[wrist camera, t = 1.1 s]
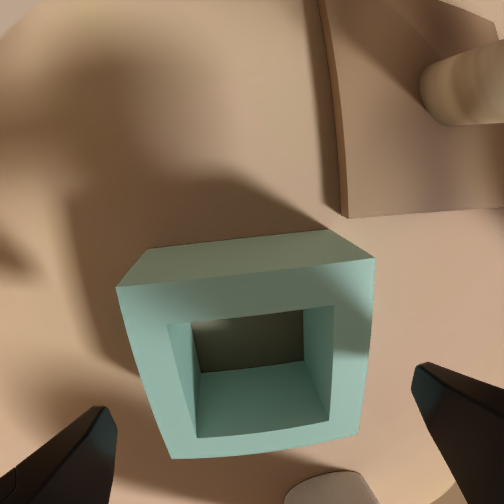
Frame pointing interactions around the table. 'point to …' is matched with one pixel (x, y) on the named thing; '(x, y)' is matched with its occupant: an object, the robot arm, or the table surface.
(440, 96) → the square base with peg
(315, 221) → the table surface
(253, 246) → the teal square frame
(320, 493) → the coffee cup
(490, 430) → the robot arm
